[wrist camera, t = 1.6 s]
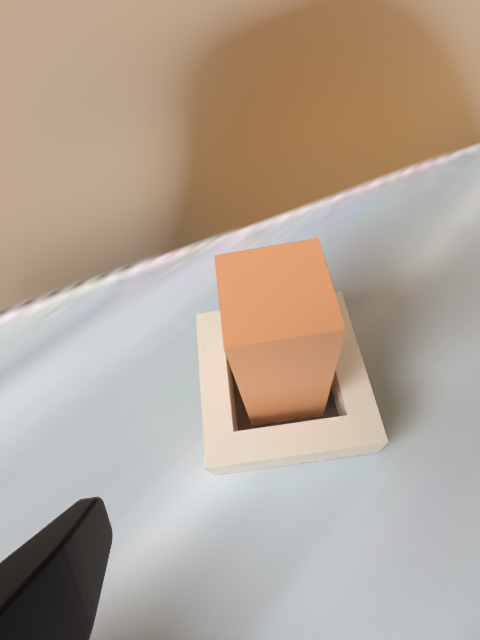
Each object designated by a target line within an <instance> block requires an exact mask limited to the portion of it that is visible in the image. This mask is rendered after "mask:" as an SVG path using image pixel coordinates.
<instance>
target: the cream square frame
mask: <svg viewBox="0 0 480 640" xmlns="http://www.w3.org/2000/svg"><path fill="white" fill-rule="evenodd" d="M335 295H336V298H337V301H338V305H339V308H340V312H341V315H342V318H343V322H344V325H345V328H346V331H345V335H344V339H343V342H342V346H341V350H340V354H339V358H338V362H337V366H336V369H335V373H334V377H333V381H332V385H331V388H332V392H333V396H334V400H335V404H336V408H337V412H338V417H331V418H324V419H317V420H310V421H303V422H296V423H289V424H283V425H276V426H269V427H262V428H255V429H248V430H241V431H238V424H237V415H236V406H235V397H234V388H233V378H232V370H231V367H230V364H229V362H228V359H227V356H226V353H225V351H224V346H223V336H222V326H221V316H220V310H219V311H213V312H207V313H201V314H196V324H197V340H198V357H199V373H200V390H201V406H202V423H203V439H204V456H205V468H206V469H207V470H208V471H209V472H211V473H212V474H213V475H222V474H230V473H237V472H244V471H251V470H258V469H265V468H272V467H280V466H287V465H294V464H301V463H308V462H315V461H322V460H330V459H337V458H344V457H351V456H358V455H365V454H372V453H378V452H379V451H380V450H381V449H382V448H383V447H384V446H385V445H386V444H387V443H388V439H387V436H386V432H385V429H384V426H383V423H382V420H381V416H380V413H379V410H378V407H377V403H376V400H375V397H374V394H373V391H372V387H371V384H370V381H369V378H368V374H367V371H366V368H365V365H364V362H363V358H362V355H361V352H360V349H359V345H358V342H357V339H356V336H355V333H354V329H353V326H352V323H351V320H350V316H349V313H348V310H347V307H346V304H345V300H344V297H343V294H342V291H337V292H335Z"/></svg>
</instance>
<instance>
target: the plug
mask: <svg viewBox="0 0 480 640" xmlns="http://www.w3.org/2000/svg"><path fill="white" fill-rule="evenodd" d="M214 256H215V266H216V276H217V286H218V296H219V306H220V316H221V326H222V336H223V346H224V351H225V353H226V356H227V359H228V362H229V364H230V367H231V370H232V372H233V375H234V378H235V381H236V383H237V386H238V389H239V392H240V394H241V397H242V400H243V403H244V405H245V408H246V411H247V414H248V416H249V419H250V422H251V424H252V426H256V425H263V424H270V423H277V422H284V421H291V420H297V419H304V418H311V417H318V416H323V415H324V412H325V408H326V404H327V400H328V396H329V392H330V389H331V385H332V381H333V377H334V373H335V369H336V366H337V362H338V358H339V354H340V350H341V346H342V342H343V339H344V335H345V331H346V328H345V325H344V322H343V318H342V315H341V312H340V308H339V305H338V301H337V298H336V295H335V291H334V288H333V285H332V281H331V278H330V275H329V271H328V268H327V265H326V261H325V258H324V255H323V251H322V248H321V244H320V241H319V238H315V239H309V240H303V241H297V242H291V243H285V244H280V245H274V246H268V247H262V248H256V249H250V250H244V251H238V252H232V253H226V254H220V255H214Z"/></svg>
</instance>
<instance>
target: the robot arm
mask: <svg viewBox="0 0 480 640" xmlns="http://www.w3.org/2000/svg"><path fill="white" fill-rule="evenodd" d="M111 544H112V528H111V524H110V521H109V518H108V515H107V511H106V508H105V505H104V502H103V500H102V499H101V498H99V497H92V498H85V499H81V500H79V501H77V502H76V503H75V504H73V505H72V506H71V507H70V508H68V509H67V510H66V511H65V512H63V513H62V514H61V515H60V516H58V517H57V518H56V519H55V520H53V521H52V522H51V523H50V524H48V525H47V526H46V527H45V528H43V529H42V530H41V531H40V532H38V533H37V534H36V535H35V536H33V537H32V538H31V539H30V540H28V541H27V542H26V543H25V544H23V545H22V546H21V547H20V548H18V549H17V550H16V551H15V552H13V553H12V554H11V555H10V556H8V557H7V558H6V559H5V560H3V561H2V562H1V563H0V640H89V638H90V635H91V631H92V628H93V624H94V620H95V616H96V612H97V608H98V603H99V598H100V594H101V589H102V585H103V580H104V576H105V571H106V567H107V562H108V558H109V553H110V549H111Z"/></svg>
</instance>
